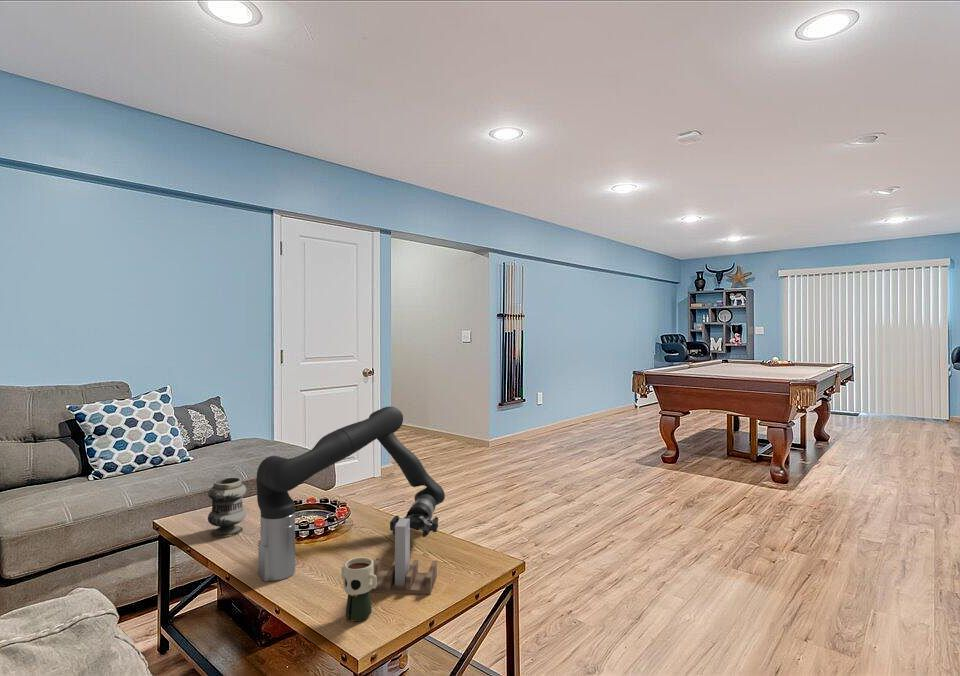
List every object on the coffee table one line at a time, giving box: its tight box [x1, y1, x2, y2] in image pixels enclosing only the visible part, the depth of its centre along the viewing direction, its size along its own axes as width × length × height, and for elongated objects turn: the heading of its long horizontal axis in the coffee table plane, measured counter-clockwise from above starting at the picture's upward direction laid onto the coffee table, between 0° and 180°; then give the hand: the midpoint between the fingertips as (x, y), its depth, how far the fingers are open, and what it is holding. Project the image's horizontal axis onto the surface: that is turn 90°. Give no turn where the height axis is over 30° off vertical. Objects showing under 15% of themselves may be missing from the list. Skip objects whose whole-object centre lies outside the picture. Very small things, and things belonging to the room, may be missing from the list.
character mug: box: [340, 556, 377, 622], centre depth 127 cm, size 11×7×13 cm, turn 61°
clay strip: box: [394, 517, 411, 586], centre depth 143 cm, size 6×3×16 cm, turn 176°
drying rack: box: [369, 558, 438, 595], centre depth 144 cm, size 10×17×4 cm, turn 85°
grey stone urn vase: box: [207, 476, 248, 538], centre depth 180 cm, size 12×12×18 cm
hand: (409, 533), depth 152 cm, fingers open, 8 cm apart
